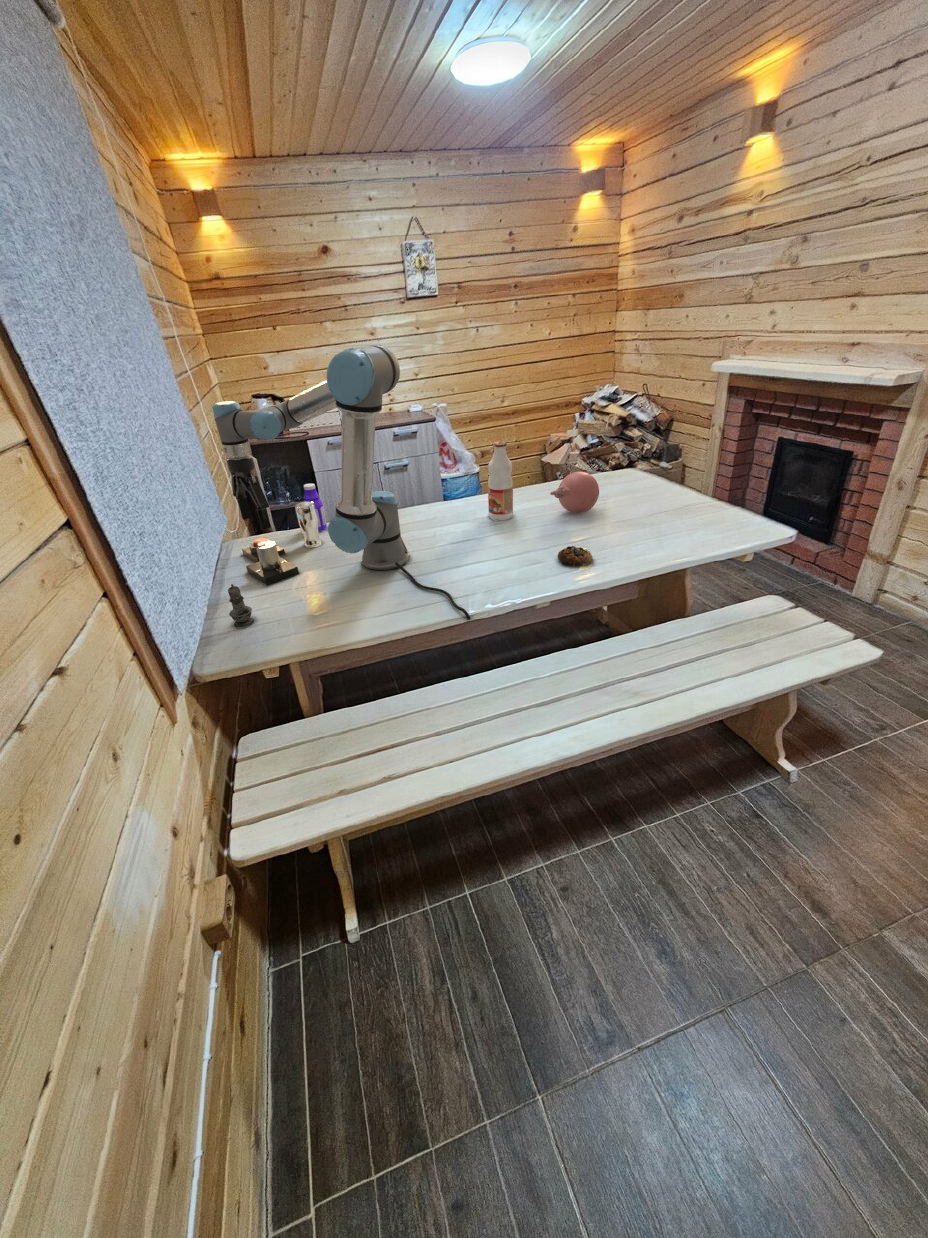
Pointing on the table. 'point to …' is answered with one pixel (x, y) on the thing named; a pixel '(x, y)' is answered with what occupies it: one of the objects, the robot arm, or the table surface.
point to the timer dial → (268, 555)
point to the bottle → (314, 497)
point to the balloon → (577, 492)
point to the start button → (259, 540)
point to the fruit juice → (500, 484)
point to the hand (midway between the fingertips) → (256, 523)
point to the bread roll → (574, 556)
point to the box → (253, 554)
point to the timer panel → (272, 572)
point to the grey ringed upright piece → (239, 608)
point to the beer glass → (308, 523)
